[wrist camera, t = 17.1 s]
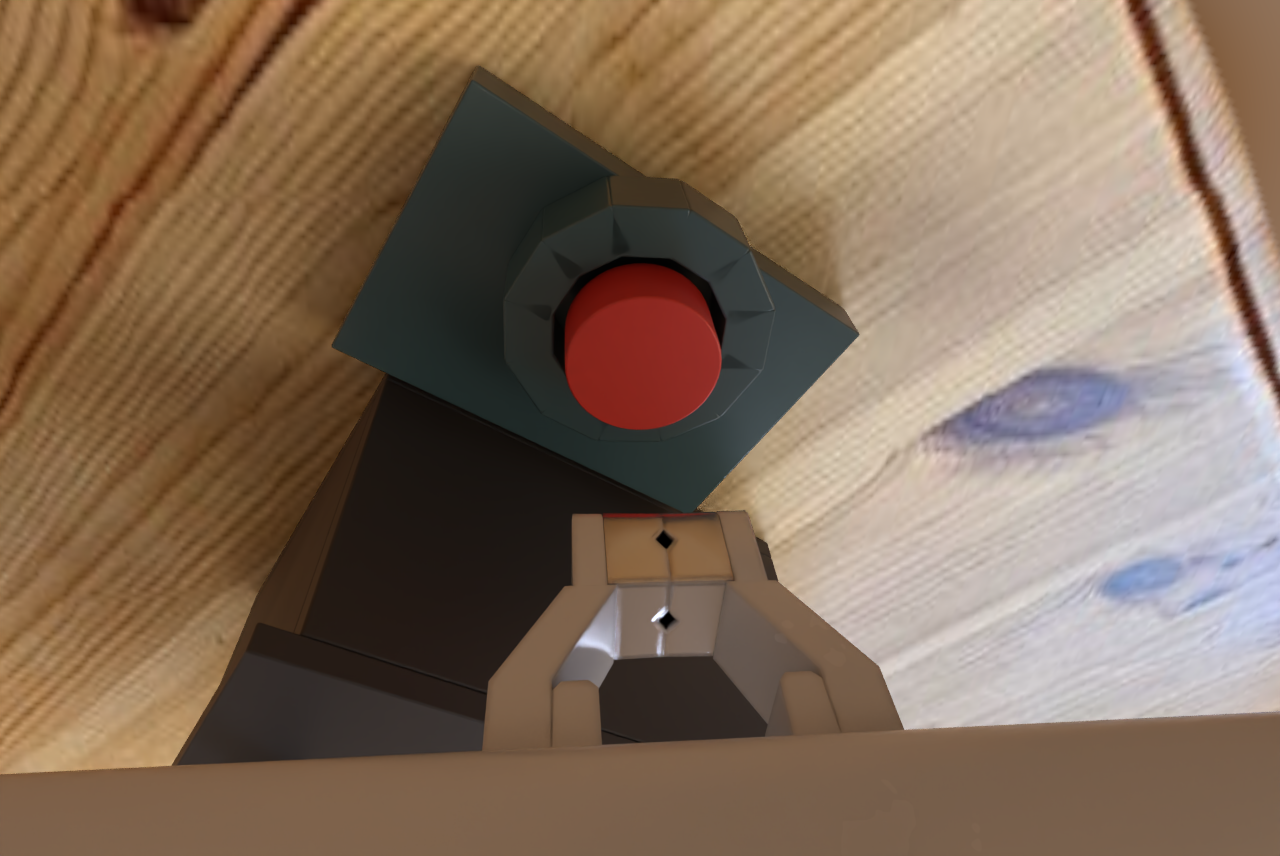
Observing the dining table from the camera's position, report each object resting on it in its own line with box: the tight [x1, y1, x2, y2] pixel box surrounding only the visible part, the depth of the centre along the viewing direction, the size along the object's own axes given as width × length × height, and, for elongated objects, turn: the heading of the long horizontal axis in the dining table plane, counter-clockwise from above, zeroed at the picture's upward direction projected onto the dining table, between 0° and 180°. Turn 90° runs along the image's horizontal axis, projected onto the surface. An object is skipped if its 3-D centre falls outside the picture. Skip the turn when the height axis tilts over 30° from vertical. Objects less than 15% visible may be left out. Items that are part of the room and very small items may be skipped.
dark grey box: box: [220, 373, 778, 743], centre depth 24 cm, size 15×12×10 cm
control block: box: [332, 66, 859, 513], centre depth 21 cm, size 12×9×4 cm
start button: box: [565, 263, 722, 430], centre depth 18 cm, size 4×4×2 cm
